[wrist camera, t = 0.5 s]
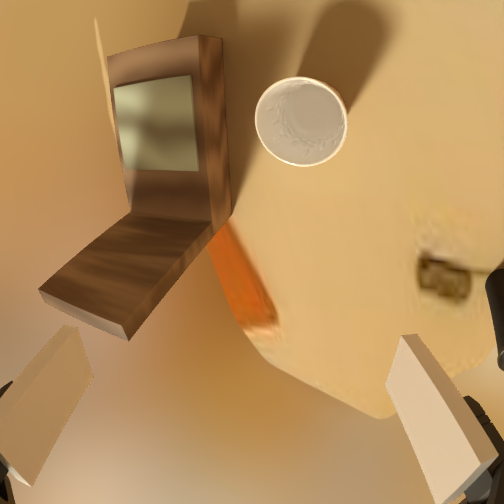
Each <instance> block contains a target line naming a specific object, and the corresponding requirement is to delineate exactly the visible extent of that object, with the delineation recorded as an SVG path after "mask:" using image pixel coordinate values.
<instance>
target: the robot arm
mask: <svg viewBox="0 0 504 504" xmlns="http://www.w3.org/2000/svg"><path fill="white" fill-rule="evenodd" d="M92 379H93V373H92V370H91V368H90V365H89V362H88V359H87V356H86V353H85V350H84V347H83V343H82V340H81V337H80V334H79V331H78V327H73V326H67V325H63V326H62V328H61V329H60V330H59V331H58V332H57V333H56V334H55V335H54V336H53V337H52V338H51V339H50V340H49V342H48V343H47V344H46V345H45V346H44V347H43V348H42V350H40V352H39V353H38V354H37V355H36V356H35V357H34V358H33V360H32V361H31V362H30V363H29V364H28V365H27V366H26V368H25V369H24V370H23V371H22V372H21V373H20V375H19V376H18V377H17V378H16V379H15V381H14V382H13V381H11V382H9V383H8V384H6V385H5V386H3V387H2V388H1V389H0V504H15V500H14V496H13V493H12V488H11V483H10V480H9V478H8V476H7V473H8V471H9V472H10V473H11V474H13V476H14V477H15V478H16V479H17V480H19V481H21V482H23V483H24V484H27V485H28V486H30V487H32V486H33V485H34V483H35V481H36V479H37V476H38V475H39V473H40V471H41V469H42V467H43V465H44V463H45V461H46V459H47V457H48V455H49V454H50V452H51V450H52V448H53V446H54V444H55V442H56V441H57V439H58V437H59V435H60V433H61V432H62V430H63V428H64V426H65V425H66V423H67V421H68V419H69V418H70V416H71V414H72V412H73V411H74V409H75V407H76V406H77V404H78V402H79V400H80V399H81V397H82V395H83V394H84V392H85V390H86V389H87V387H88V385H89V384H90V382H91V381H92ZM385 387H386V389H387V391H388V393H389V396H390V398H391V400H392V402H393V404H394V406H395V408H396V411H397V413H398V415H399V417H400V419H401V422H402V424H403V426H404V428H405V431H406V433H407V435H408V437H409V440H410V442H411V444H412V446H413V449H414V451H415V454H416V456H417V459H418V461H419V463H420V466H421V468H422V471H423V473H424V476H425V478H426V480H427V483H428V486H429V488H430V491H431V493H432V496H433V498H434V501H435V504H447V503H450V502H452V501H454V500H456V499H457V498H458V497H459V496H460V495H461V494H462V493H463V492H464V493H465V495H466V498H465V499H464V500H462V501H461V502H460V503H459V504H504V441H503V439H502V437H501V436H500V434H499V433H498V431H497V430H496V428H495V426H494V425H493V423H491V422H490V421H491V420H490V419H489V417H488V416H487V415H485V411H484V410H483V409H482V407H481V406H480V404H479V403H478V402H477V401H475V400H474V399H473V398H471V397H470V396H465V397H462V396H461V394H460V393H459V391H458V390H457V388H456V387H455V385H454V384H453V383H452V381H451V380H450V378H449V377H448V375H447V374H446V373H445V371H444V370H443V368H442V367H441V366H440V364H439V363H438V361H437V360H436V359H435V357H434V356H433V355H432V353H431V352H430V351H429V349H428V348H427V347H426V345H425V344H424V343H423V341H422V340H421V339H420V337H419V336H418V335H417V334H410V335H401V338H400V341H399V345H398V348H397V351H396V354H395V357H394V361H393V364H392V367H391V370H390V372H389V375H388V378H387V381H386V384H385Z"/></svg>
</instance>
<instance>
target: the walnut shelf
mask: <svg viewBox="0 0 504 504" xmlns="http://www.w3.org/2000/svg"><path fill="white" fill-rule="evenodd" d="M107 60H108V73H109V83H110V93H111V101H112V110H113V117H114V124H115V131H116V138H117V144H118V150H119V156H120V161H121V167H122V172H123V177H124V182H125V187H126V192H127V197H128V202H129V206H130V211H131V212H130V213H128V214H127V215H126V216H124V217H123V218H122V219H120V220H119V221H118V222H117V223H115V224H114V225H113V226H111V227H110V228H109V229H108V230H106V231H105V232H104V233H103V234H101V235H100V236H99V237H98V238H96V239H95V240H94V241H93V242H91V243H90V244H89V245H88V246H86V247H85V248H84V249H83V250H82V251H80V252H79V253H78V254H77V255H76V256H75V257H73V258H72V259H71V260H70V261H69V262H68V263H66V264H65V265H64V266H63V267H62V268H61V269H60V270H58V271H57V272H56V273H55V274H54V275H53V276H52V277H51V278H49V279H48V280H47V281H46V282H45V283H44V284H43V285H42V286H41V287H40V288H39V289H38V290H39V292H40V294H41V295H42V298H43V299H44V301H45V303H47V304H48V305H51V306H53V307H54V308H56V309H58V310H60V311H62V312H64V313H66V314H68V315H71V316H73V317H75V318H77V319H79V320H81V321H83V322H85V323H87V324H89V325H92V326H94V327H96V328H98V329H101V330H103V331H105V332H108V333H110V334H112V335H115V336H117V337H119V338H122V339H124V340H127V341H129V340H130V339H131V338H132V336H133V335H134V334H135V333H136V331H137V330H138V329H139V327H140V326H141V325H142V324H143V322H144V321H145V320H146V318H147V317H148V316H149V315H150V313H151V312H152V311H153V310H154V308H155V307H156V306H157V305H158V303H159V302H160V301H161V299H162V298H163V297H164V296H165V295H166V293H167V292H168V291H169V290H170V288H171V287H172V286H173V285H174V283H175V282H176V281H177V280H178V279H179V277H180V276H181V275H182V274H183V272H184V271H185V270H186V269H187V268H188V266H189V265H190V264H191V262H192V261H193V260H194V259H195V258H196V256H197V255H198V254H199V253H200V252H201V251H202V249H203V248H204V247H205V246H206V245H207V243H208V242H209V241H210V240H211V239H212V237H213V236H214V235H215V234H216V233H217V232H218V230H219V229H220V228H221V227H222V226H223V224H224V223H225V222H226V221H227V220H228V219H229V217H230V216H231V215H232V208H231V193H230V178H229V162H228V146H227V129H226V111H225V92H224V72H223V50H222V39H220V38H215V37H209V36H202V35H194V36H188V37H183V38H178V39H173V40H168V41H163V42H159V43H155V44H151V45H147V46H143V47H139V48H135V49H132V50H128V51H125V52H121V53H119V54H115V55H112V56H109V57H107Z"/></svg>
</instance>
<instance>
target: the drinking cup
mask: <svg viewBox="0 0 504 504" xmlns="http://www.w3.org/2000/svg"><path fill="white" fill-rule="evenodd" d="M485 289H486V293H487V297H488V301H489V305H490V310H491V314H492V319H493V325H494V330H495V336H496V342H497V348H498V359H497V362H498V366H499V368H500V369H501V370H503V371H504V269H499V270H496V271H494V272H493V273H492V274H491V275H490V276H489V277H488V279H487V281H486V284H485Z"/></svg>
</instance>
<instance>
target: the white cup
mask: <svg viewBox="0 0 504 504" xmlns="http://www.w3.org/2000/svg"><path fill="white" fill-rule="evenodd" d="M255 126H256V131H257V134H258V136H259V138H260V140H261V142H262V144H263V145H264V146H265V148H266V149H267V150H268V151H269V152H270V153H271V154H272V155H273V156H275V157H276V158H278V159H279V160H281V161H283V162H285V163H288V164H291V165H296V166H313V165H317V164H320V163H323V162H325V161H327V160H328V159H330V158H331V157H333V156H334V155H335V154H336V153H337V152H338V151H339V149H340V148H341V147H342V145H343V143H344V141H345V138H346V135H347V130H348V118H347V110H346V106H345V104H344V101H343V99H342V97H341V96H340V94H339V93H338V92H337V91H336V90H335V89H334V88H333V87H331V86H330V85H328V84H327V83H325V82H322V81H320V80H316V79H313V78H309V77H300V76H297V77H289V78H285V79H282V80H280V81H278V82H276V83H274V84H273V85H271V86H270V87H269V88H268V89H267V90H266V91H265V92H264V93H263V94H262V96H261V97H260V99H259V101H258V104H257V107H256V111H255Z"/></svg>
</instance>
